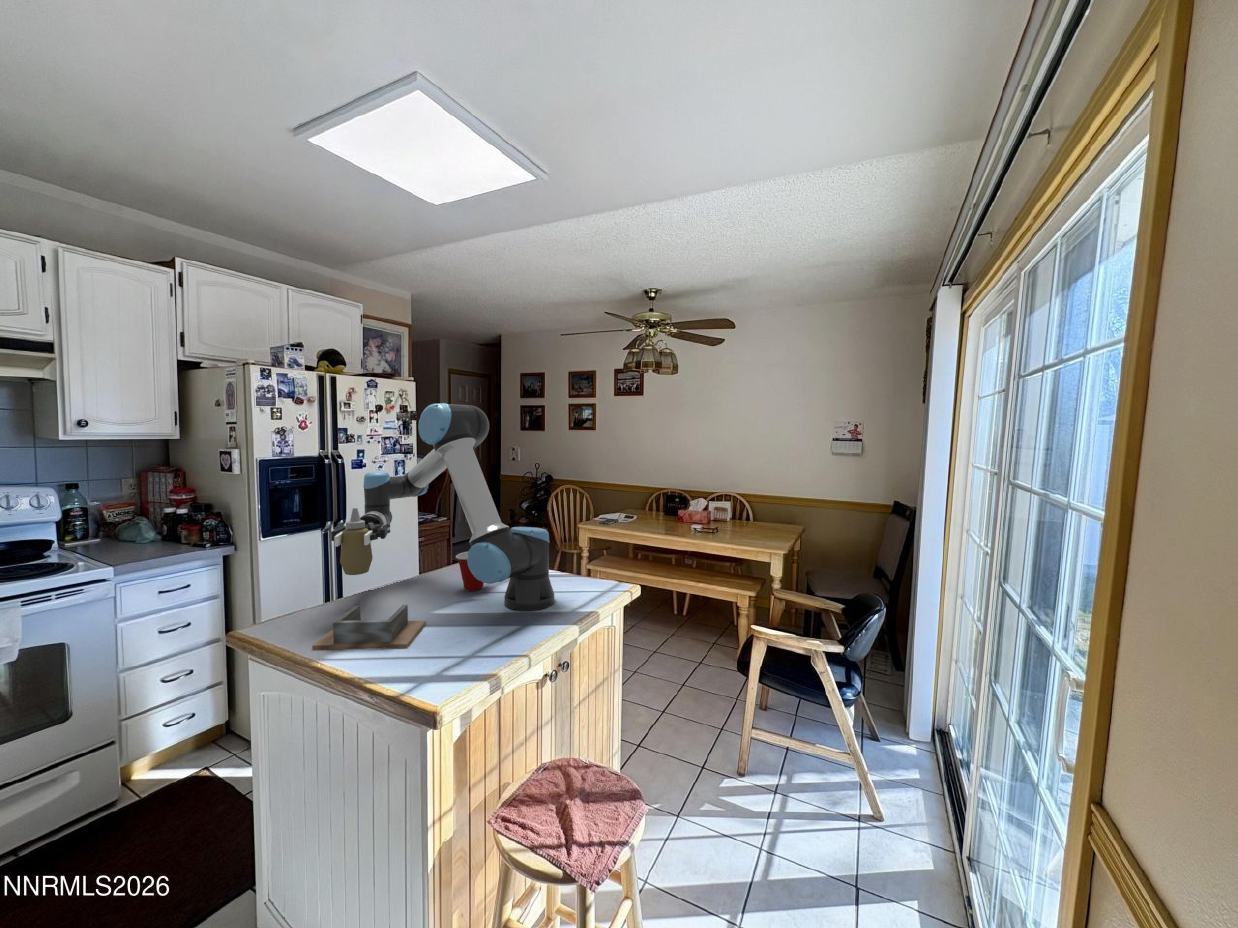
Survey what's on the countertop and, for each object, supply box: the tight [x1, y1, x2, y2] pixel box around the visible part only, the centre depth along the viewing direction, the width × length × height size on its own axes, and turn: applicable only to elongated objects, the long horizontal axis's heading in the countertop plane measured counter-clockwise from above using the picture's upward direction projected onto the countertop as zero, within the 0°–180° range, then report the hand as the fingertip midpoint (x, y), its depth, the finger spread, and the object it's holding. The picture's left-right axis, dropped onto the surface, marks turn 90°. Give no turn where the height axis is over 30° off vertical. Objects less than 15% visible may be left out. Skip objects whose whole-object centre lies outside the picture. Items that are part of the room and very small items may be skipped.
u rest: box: [311, 604, 427, 650], centre depth 129 cm, size 22×15×6 cm
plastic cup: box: [455, 551, 484, 592], centre depth 168 cm, size 11×11×12 cm
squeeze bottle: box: [339, 507, 373, 576], centre depth 141 cm, size 8×8×18 cm
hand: (351, 540), depth 136 cm, fingers closed on squeeze bottle, 6 cm apart
